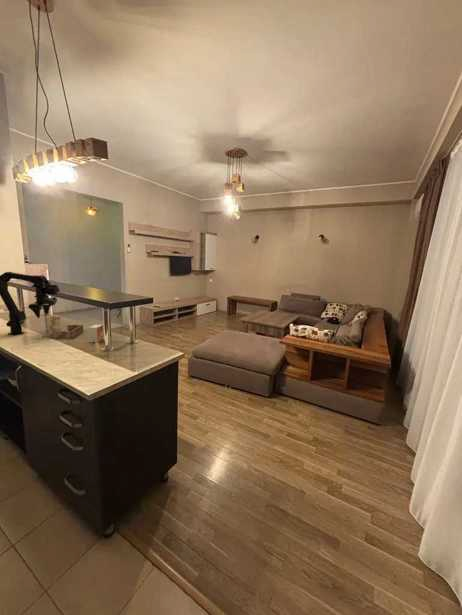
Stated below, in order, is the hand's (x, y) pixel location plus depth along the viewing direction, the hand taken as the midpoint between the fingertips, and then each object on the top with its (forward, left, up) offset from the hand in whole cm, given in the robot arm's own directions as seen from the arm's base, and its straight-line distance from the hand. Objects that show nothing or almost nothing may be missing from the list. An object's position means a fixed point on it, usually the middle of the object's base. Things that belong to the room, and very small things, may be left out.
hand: (42, 316), depth 169 cm
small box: (+39, +7, -13) cm, 42 cm away
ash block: (+6, +3, -13) cm, 15 cm away
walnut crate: (+15, +8, -13) cm, 21 cm away
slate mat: (+6, +3, -13) cm, 15 cm away
